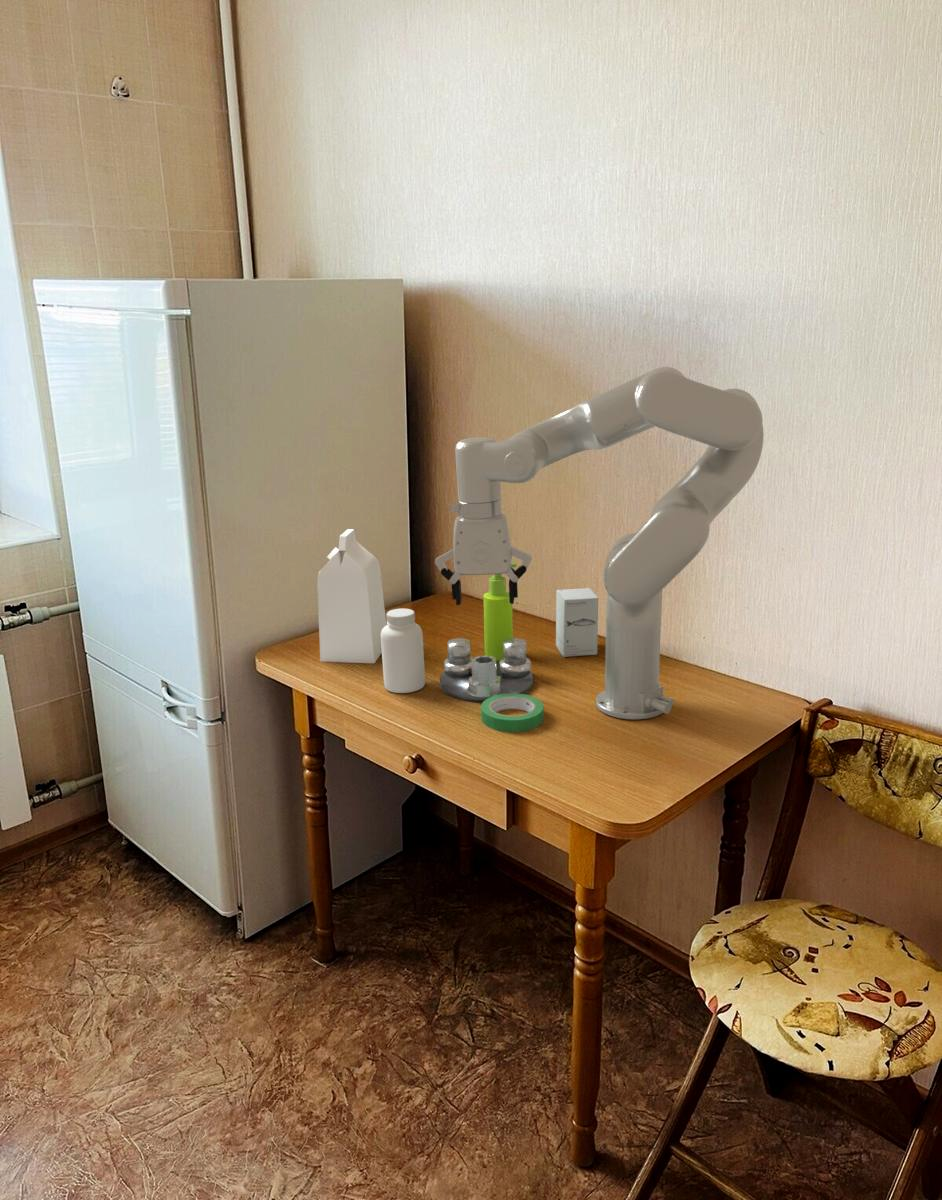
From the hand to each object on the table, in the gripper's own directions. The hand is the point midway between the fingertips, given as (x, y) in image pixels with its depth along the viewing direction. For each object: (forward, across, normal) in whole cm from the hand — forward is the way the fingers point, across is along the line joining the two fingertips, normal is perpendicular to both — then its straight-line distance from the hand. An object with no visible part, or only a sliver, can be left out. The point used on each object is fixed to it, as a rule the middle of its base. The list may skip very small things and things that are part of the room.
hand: (485, 602), depth 172 cm
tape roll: (+19, +4, -9) cm, 22 cm away
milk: (+18, -30, +23) cm, 42 cm away
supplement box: (+19, +16, +24) cm, 35 cm away
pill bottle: (+18, -17, +5) cm, 25 cm away
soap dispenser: (+19, +1, +21) cm, 28 cm away
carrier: (+18, -1, +6) cm, 20 cm away
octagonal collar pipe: (+17, -1, 0) cm, 17 cm away
